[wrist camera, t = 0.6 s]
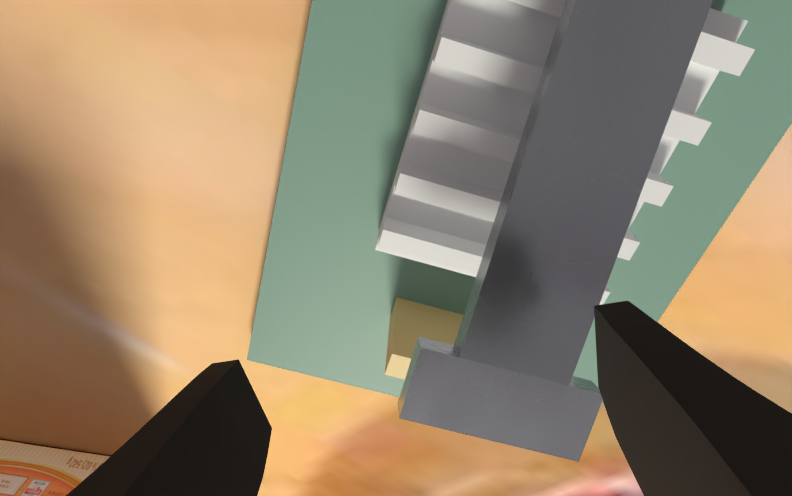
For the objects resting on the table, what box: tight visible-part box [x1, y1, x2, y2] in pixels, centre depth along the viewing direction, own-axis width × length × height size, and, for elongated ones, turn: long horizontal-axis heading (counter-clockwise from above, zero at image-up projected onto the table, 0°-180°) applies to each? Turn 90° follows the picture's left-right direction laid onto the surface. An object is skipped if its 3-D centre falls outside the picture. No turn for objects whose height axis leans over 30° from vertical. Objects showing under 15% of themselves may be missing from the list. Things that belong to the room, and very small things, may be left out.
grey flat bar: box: [398, 0, 713, 462], centre depth 12 cm, size 15×5×2 cm, turn 163°
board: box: [247, 0, 792, 405], centre depth 16 cm, size 16×26×5 cm, turn 164°
